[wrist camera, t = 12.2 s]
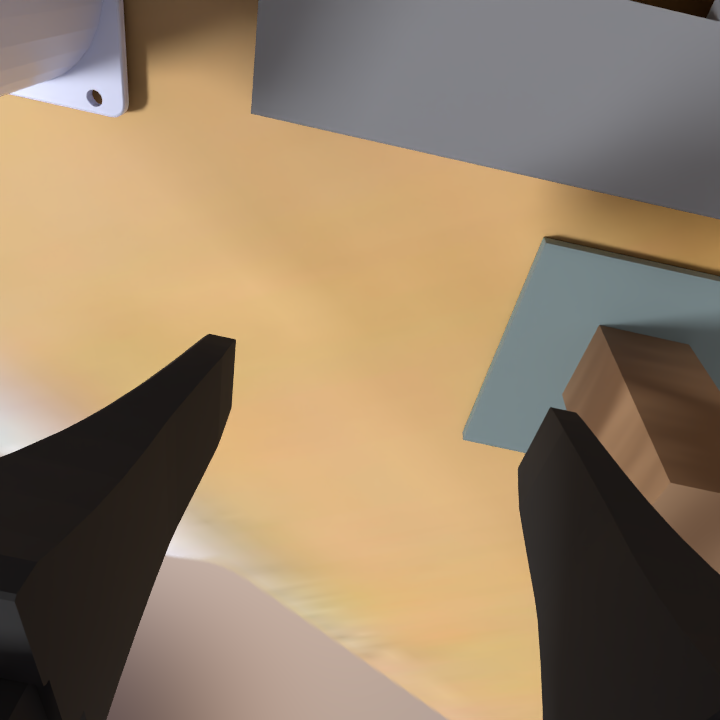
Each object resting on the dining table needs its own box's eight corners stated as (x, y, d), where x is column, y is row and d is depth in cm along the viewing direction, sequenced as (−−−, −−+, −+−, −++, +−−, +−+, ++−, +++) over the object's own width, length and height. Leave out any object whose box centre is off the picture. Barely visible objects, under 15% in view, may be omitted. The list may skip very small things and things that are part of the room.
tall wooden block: (562, 394, 24) (610, 558, 17) (599, 324, 22) (670, 482, 15) (643, 412, 24) (722, 582, 17) (688, 344, 22) (797, 509, 15)
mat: (462, 432, 26) (463, 439, 26) (543, 236, 20) (545, 242, 20) (668, 476, 26) (671, 484, 26) (807, 296, 21) (815, 302, 20)
